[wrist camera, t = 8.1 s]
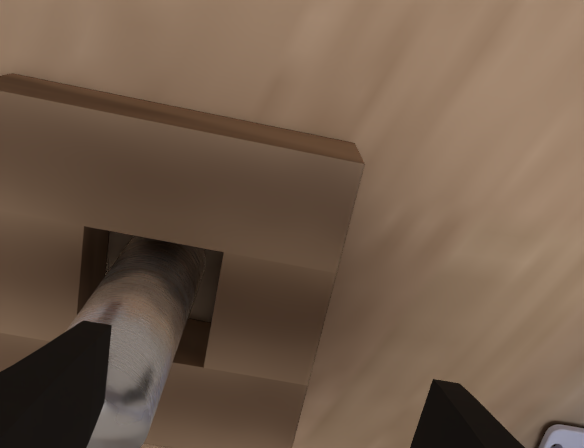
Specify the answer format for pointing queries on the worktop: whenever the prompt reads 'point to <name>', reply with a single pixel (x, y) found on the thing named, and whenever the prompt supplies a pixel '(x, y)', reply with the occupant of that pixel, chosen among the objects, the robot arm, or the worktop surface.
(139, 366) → the peg
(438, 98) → the worktop surface
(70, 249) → the hole block
